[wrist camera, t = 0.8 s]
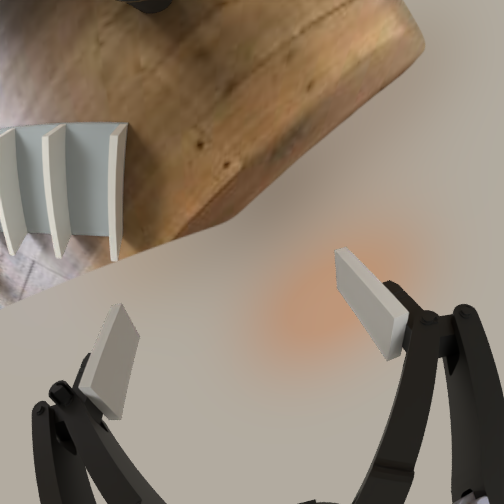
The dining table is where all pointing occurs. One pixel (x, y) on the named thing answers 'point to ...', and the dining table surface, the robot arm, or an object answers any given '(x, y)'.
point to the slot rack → (62, 182)
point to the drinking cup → (148, 5)
